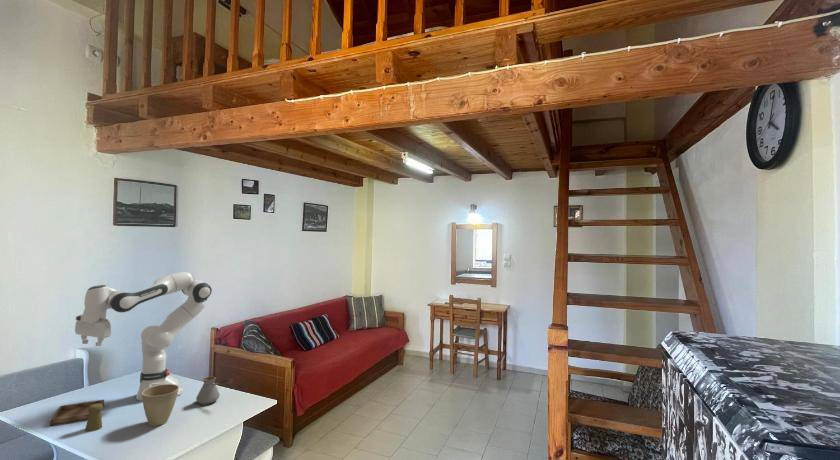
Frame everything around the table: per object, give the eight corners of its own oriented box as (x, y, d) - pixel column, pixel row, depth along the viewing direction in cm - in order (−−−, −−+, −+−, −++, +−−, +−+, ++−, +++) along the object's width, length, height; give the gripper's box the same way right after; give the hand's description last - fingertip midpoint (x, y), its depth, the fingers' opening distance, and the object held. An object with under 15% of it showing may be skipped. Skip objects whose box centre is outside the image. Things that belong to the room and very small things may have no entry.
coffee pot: (190, 404, 198) (192, 376, 199) (208, 396, 209) (210, 370, 210) (220, 410, 192) (222, 382, 193) (237, 402, 203) (239, 375, 204)
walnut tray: (103, 405, 192) (104, 399, 192) (97, 418, 178) (97, 412, 178) (59, 411, 183) (60, 405, 183) (49, 426, 169) (50, 419, 169)
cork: (91, 432, 165) (94, 408, 166) (81, 430, 166) (83, 406, 167) (105, 426, 171) (107, 402, 172) (95, 424, 172) (97, 401, 173)
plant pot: (139, 420, 178) (142, 387, 179) (175, 413, 187) (177, 382, 188) (138, 433, 166) (141, 398, 167) (177, 425, 175) (179, 391, 176)
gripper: (116, 318, 183) (113, 345, 182) (87, 314, 189) (84, 341, 188) (102, 320, 177) (99, 348, 176) (73, 316, 182) (70, 344, 182)
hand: (91, 344), depth 182 cm, fingers open, 8 cm apart
